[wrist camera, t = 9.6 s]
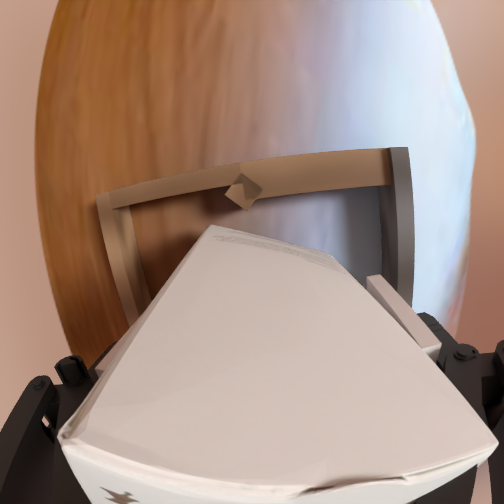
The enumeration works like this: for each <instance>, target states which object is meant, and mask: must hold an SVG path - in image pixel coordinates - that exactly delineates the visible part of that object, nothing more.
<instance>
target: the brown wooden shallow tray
mask: <svg viewBox="0 0 504 504" xmlns="http://www.w3.org/2000/svg"><path fill="white" fill-rule="evenodd" d="M228 185H231V187H230V188H229V189H228V191H227V192H226V194H225V196H227V197H228V198H230V199H231V200H232V201H234V202H235V203H236V204H238V205H239V206H240V207H242V208H243V209H245V210H246V211H248V209H249V208H250V207H251V206H252V204H253V203H254V202H255V200H256V199H259V198H266V197H274V196H282V195H290V194H298V193H306V192H315V191H324V190H334V189H344V188H355V187H366V186H378V191H379V202H380V216H381V235H382V277H383V278H384V279H385V280H386V281H387V282H388V283H389V284H390V285H391V286H392V287H393V289H394V290H395V291H396V292H397V293H398V294H399V295H400V296H401V297H402V298H403V299H404V301H405V302H406V303H407V304H408V305H409V306H410V307H411V308H412V298H413V283H414V253H415V235H414V205H413V190H412V178H411V169H410V160H409V152H408V147H390V148H378V149H358V150H343V151H330V152H319V153H309V154H300V155H291V156H283V157H275V158H267V159H260V160H254V161H247V162H241V163H235V164H229V165H223V166H217V167H212V168H206V169H201V170H196V171H191V172H186V173H182V174H177V175H172V176H168V177H163V178H159V179H155V180H150V181H146V182H142V183H138V184H134V185H130V186H127V187H123V188H119V189H115V190H112V191H108V192H105V193H101V194H98V195H95V198H96V203H97V209H98V214H99V219H100V224H101V229H102V233H103V238H104V242H105V246H106V250H107V254H108V258H109V262H110V266H111V270H112V273H113V277H114V281H115V284H116V288H117V291H118V294H119V297H120V301H121V304H122V307H123V310H124V313H125V316H126V319H127V322H128V325H129V328H130V327H131V326H132V325H133V324H134V323H135V322H136V321H137V319H138V318H139V317H140V316H141V315H142V314H143V313H144V312H145V310H146V309H147V308H148V306H149V305H150V304H151V302H152V299H151V296H150V292H149V289H148V285H147V281H146V277H145V274H144V270H143V266H142V262H141V257H140V253H139V249H138V245H137V240H136V236H135V231H134V226H133V221H132V216H131V211H130V206H129V205H131V204H135V203H140V202H144V201H149V200H154V199H158V198H163V197H168V196H173V195H178V194H183V193H189V192H194V191H199V190H205V189H211V188H216V187H222V186H228Z"/></svg>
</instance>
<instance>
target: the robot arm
mask: <svg viewBox="0 0 504 504" xmlns="http://www.w3.org/2000/svg"><path fill="white" fill-rule="evenodd" d="M367 291H368V292H369V293H370V294H371V295H372V296H373V297H374V299H375V300H376V301H377V302H378V303H379V304H380V305H381V306H382V307H383V308H384V309H385V310H386V311H387V312H388V313H389V314H390V315H391V316H392V317H393V318H394V319H395V320H396V321H397V323H398V324H399V325H400V326H401V327H402V328H403V329H404V330H405V331H406V332H407V333H408V334H409V335H410V336H411V338H412V339H413V340H414V341H415V342H416V343H417V344H418V345H419V346H420V347H421V348H422V350H423V351H424V352H425V353H426V354H427V355H428V356H429V357H430V358H431V360H432V361H433V362H434V363H435V364H436V365H437V366H438V368H439V369H440V370H441V371H442V372H443V373H444V374H445V376H446V377H447V378H448V379H449V380H450V381H451V383H452V384H453V385H454V386H455V387H456V388H457V390H458V391H459V392H460V393H461V394H462V396H463V397H464V398H465V399H466V400H467V402H468V403H469V404H470V405H471V407H472V408H473V409H474V411H475V412H476V413H477V414H478V416H479V417H480V418H481V419H482V421H483V422H484V423H485V424H486V426H487V427H488V428H489V430H490V431H491V432H492V433H493V435H494V436H495V438H496V439H497V440H498V442H499V443H498V446H497V447H496V449H495V450H494V451H493V453H492V454H491V455H490V456H489V457H488V464H489V473H490V481H491V494H492V504H504V340H502V341H500V342H499V343H498V344H497V347H496V350H495V352H493V353H483V354H479V352H478V350H477V349H476V348H475V347H473V346H471V345H468V344H458V343H457V342H456V341H455V340H454V339H453V338H452V336H451V335H450V334H449V333H448V332H447V331H446V330H445V329H444V328H443V327H442V326H441V324H439V322H438V321H437V320H436V319H435V318H434V317H433V316H431V315H429V314H427V313H425V312H423V313H418V314H416V313H415V312H414V311H413V309H412V308H411V307H410V306H409V305H408V304H407V303H406V302H405V301H404V299H403V298H402V297H401V296H400V295H399V294H398V293H397V292H396V291H395V290H394V289H393V287H392V286H391V285H390V284H389V283H388V282H387V281H386V280H385V279H384V278H383V277H382V276H381V275H380V274H379V275H372V276H367ZM145 311H146V310H145ZM143 314H144V313H143ZM143 314H142V315H143ZM142 315H141V316H142ZM141 316H140V317H139V318H138V319H137V321H136V322H135V323H134V324H133V325H132V326H131V327H130V328H129V330H128V331H127V332H126V333H125V334H124V335H123V336H122V338H121V339H120V340H119V341H116V342H115V343H113V344H112V345H110V346H109V347H108V348H107V349H106V350H105V351H104V353H103V354H102V355H101V356H100V358H98V359H97V361H96V362H95V363H94V364H93V365H92V366H91V367H90V369H89V370H87V368H86V366H85V364H84V362H83V360H82V358H81V357H80V356H76V355H73V356H68V357H65V358H63V359H61V360H60V361H59V362H58V363H57V364H56V365H55V367H54V368H55V369H56V371H57V373H58V375H59V377H60V379H61V381H62V383H63V384H61V385H54V384H53V383H52V381H51V379H50V377H48V376H44V375H43V376H37V377H35V378H34V379H33V380H31V381H30V383H29V384H28V385H27V387H26V388H25V390H24V392H23V393H22V395H21V397H20V398H19V400H18V402H17V403H16V405H15V407H14V408H13V410H12V412H11V413H10V415H9V417H8V419H7V421H6V422H5V424H4V426H3V428H2V430H1V432H0V504H92V503H91V501H90V500H89V498H88V497H87V495H86V493H85V492H84V490H83V489H82V487H81V485H80V484H79V482H78V480H77V478H76V477H75V475H74V473H73V471H72V469H71V467H70V465H69V463H68V461H67V459H66V457H65V455H64V453H63V451H62V449H61V444H60V442H59V440H58V438H57V436H58V432H59V430H60V428H61V427H62V426H63V425H64V424H65V423H66V422H67V421H68V420H69V418H70V417H71V416H72V415H73V414H74V413H75V411H76V410H77V409H78V408H79V407H80V405H81V404H82V402H83V401H84V399H85V398H86V397H87V395H88V394H89V392H90V391H91V389H92V388H93V387H94V385H95V384H96V382H97V381H98V379H99V378H100V376H101V375H102V374H103V372H104V371H105V369H106V368H107V366H108V365H109V364H110V362H111V361H112V359H113V358H114V357H115V355H116V354H117V352H118V351H119V349H120V347H121V346H122V344H123V343H124V341H125V340H126V338H127V337H128V335H129V334H130V332H131V331H132V329H133V328H134V326H135V325H136V324H137V322H138V321H139V319H140V318H141ZM43 416H44V417H45V418H46V419H47V421H48V422H49V425H48V427H46V426H45V425H44V423H43V422H42V418H43ZM477 465H478V463H477V464H476V465H474V466H473V467H471V468H470V469H468V470H467V471H465V472H464V473H462V474H461V475H459V476H457V477H456V478H454V479H452V480H451V481H449V482H447V483H445V484H444V485H442V486H440V487H438V488H436V489H434V490H433V491H431V492H429V493H427V494H425V495H423V496H421V497H419V498H418V499H417V500H416V501H415V502H414V503H413V504H470V502H471V498H472V493H473V488H474V483H475V478H476V472H477Z"/></svg>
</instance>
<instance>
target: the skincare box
mask: <svg viewBox="0 0 504 504" xmlns="http://www.w3.org/2000/svg"><path fill="white" fill-rule="evenodd" d="M57 438H58V440H59V442H60V444H61V449H62V451H63V453H64V455H65V457H66V459H67V461H68V463H69V465H70V467H71V469H72V471H73V473H74V475H75V477H76V478H77V480H78V482H79V484H80V485H81V487H82V489H83V490H84V492H85V493H86V495H87V497H88V498H89V500H90V501H91V503H92V504H413V503H414V502H415V501H416V500H417V499H418V498H419V497H421V496H423V495H425V494H427V493H429V492H431V491H433V490H434V489H436V488H438V487H440V486H442V485H444V484H445V483H447V482H449V481H451V480H452V479H454V478H456V477H457V476H459V475H461V474H462V473H464V472H465V471H467V470H468V469H470V468H471V467H473V466H474V465H476V464H477V463H478V465H477V469H478V468H479V467H480V466H481V465H482V464H483V463H484V461H485V460H486V459H487V458H488V457H489V456H490V455H491V454H492V453H493V451H494V450H495V449H496V447H497V446H498V443H499V442H498V440H497V439H496V438H495V436H494V435H493V433H492V432H491V431H490V430H489V428H488V427H487V426H486V424H485V423H484V422H483V421H482V419H481V418H480V417H479V416H478V414H477V413H476V412H475V411H474V409H473V408H472V407H471V405H470V404H469V403H468V402H467V400H466V399H465V398H464V397H463V396H462V394H461V393H460V392H459V391H458V390H457V388H456V387H455V386H454V385H453V384H452V383H451V381H450V380H449V379H448V378H447V377H446V376H445V374H444V373H443V372H442V371H441V370H440V369H439V368H438V366H437V365H436V364H435V363H434V362H433V361H432V360H431V358H430V357H429V356H428V355H427V354H426V353H425V352H424V351H423V350H422V348H421V347H420V346H419V345H418V344H417V343H416V342H415V341H414V340H413V339H412V338H411V336H410V335H409V334H408V333H407V332H406V331H405V330H404V329H403V328H402V327H401V326H400V325H399V324H398V323H397V321H396V320H395V319H394V318H393V317H392V316H391V315H390V314H389V313H388V312H387V311H386V310H385V309H384V308H383V307H382V306H381V305H380V304H379V303H378V302H377V301H376V300H375V299H374V297H373V296H372V295H371V294H370V293H369V292H368V291H367V290H366V289H365V288H364V287H363V286H362V285H361V284H360V283H359V282H358V281H357V280H356V279H355V278H354V277H353V276H351V275H350V274H349V273H348V272H347V271H346V270H345V269H344V268H343V267H342V266H341V265H340V264H339V263H338V262H337V261H336V260H335V259H334V258H333V257H332V255H331V254H328V253H325V252H322V251H318V250H314V249H310V248H307V247H303V246H299V245H295V244H291V243H287V242H283V241H279V240H275V239H271V238H267V237H263V236H259V235H255V234H251V233H247V232H243V231H239V230H234V229H230V228H225V227H220V226H215V225H209V226H208V227H207V228H206V229H205V230H204V232H203V233H202V234H201V236H200V237H199V239H198V240H197V241H196V243H195V244H194V245H193V247H192V248H191V249H190V250H189V252H188V253H187V254H186V256H185V257H184V258H183V260H182V261H181V262H180V264H179V265H178V267H177V268H176V269H175V271H174V272H173V273H172V275H171V276H170V277H169V279H168V280H167V282H166V283H165V284H164V286H163V287H162V288H161V290H160V291H159V293H158V294H157V295H156V297H155V298H154V299H153V301H152V302H151V304H150V305H149V306H148V308H147V309H146V311H145V312H144V314H143V315H142V316H141V318H140V319H139V321H138V322H137V324H136V325H135V326H134V328H133V329H132V331H131V332H130V334H129V335H128V337H127V338H126V340H125V341H124V343H123V344H122V346H121V347H120V349H119V351H118V352H117V354H116V355H115V357H114V358H113V359H112V361H111V362H110V364H109V365H108V366H107V368H106V369H105V371H104V372H103V374H102V375H101V376H100V378H99V379H98V381H97V382H96V384H95V385H94V387H93V388H92V389H91V391H90V392H89V394H88V395H87V397H86V398H85V399H84V401H83V402H82V404H81V405H80V407H79V408H78V409H77V410H76V411H75V413H74V414H73V415H72V416H71V417H70V418H69V420H68V421H67V422H66V423H65V424H64V425H63V426H62V427H61V428H60V430H59V432H58V436H57Z"/></svg>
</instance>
